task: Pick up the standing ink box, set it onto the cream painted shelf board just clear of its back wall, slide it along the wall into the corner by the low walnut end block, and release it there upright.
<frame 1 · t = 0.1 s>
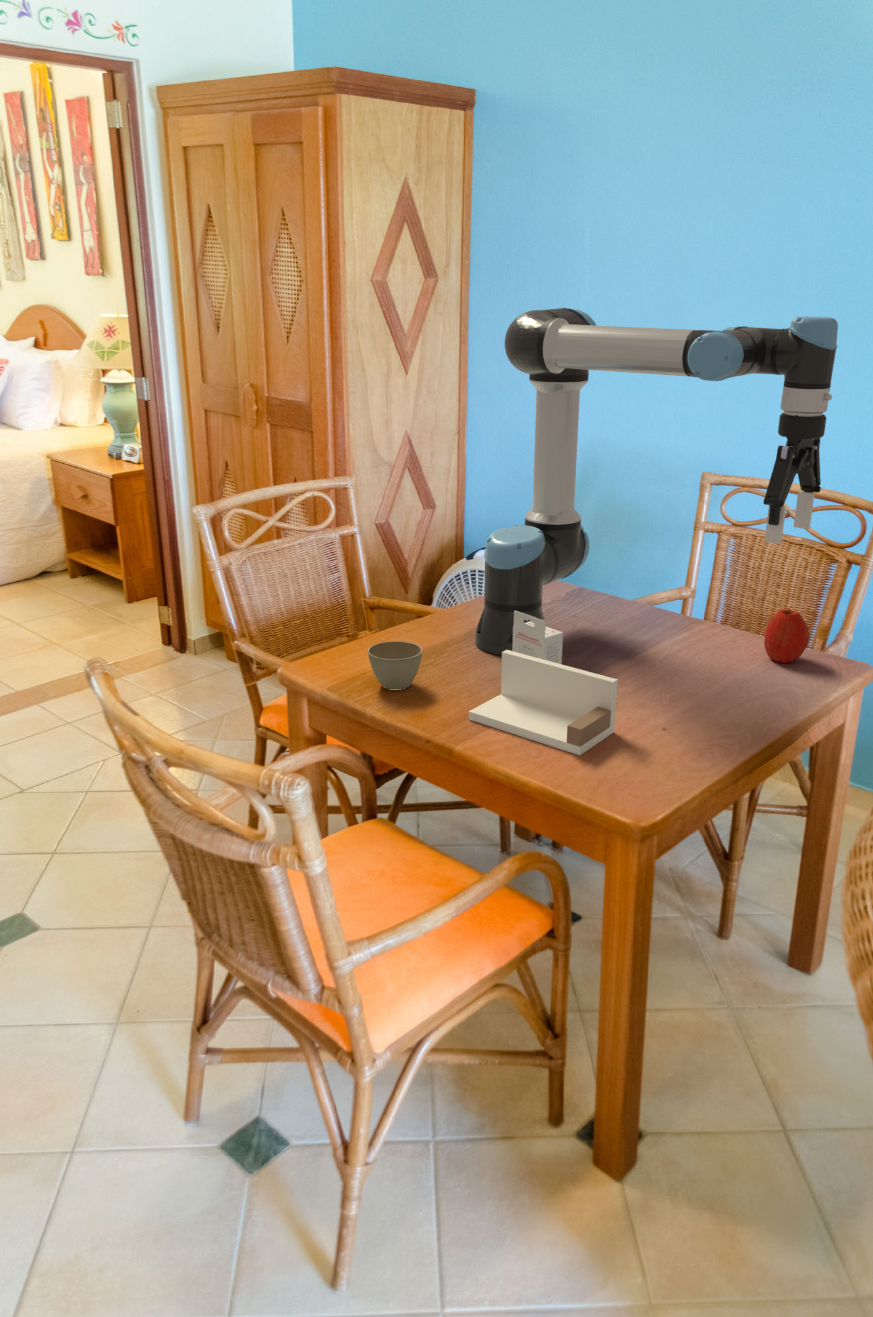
hand: (787, 535, 180), 28 cm above the table, fingers open, 13 cm apart
ink box: (535, 689, 187), on the table
apple: (782, 660, 201), on the table
shelf: (540, 725, 172), on the table
flower pot: (395, 686, 188), on the table
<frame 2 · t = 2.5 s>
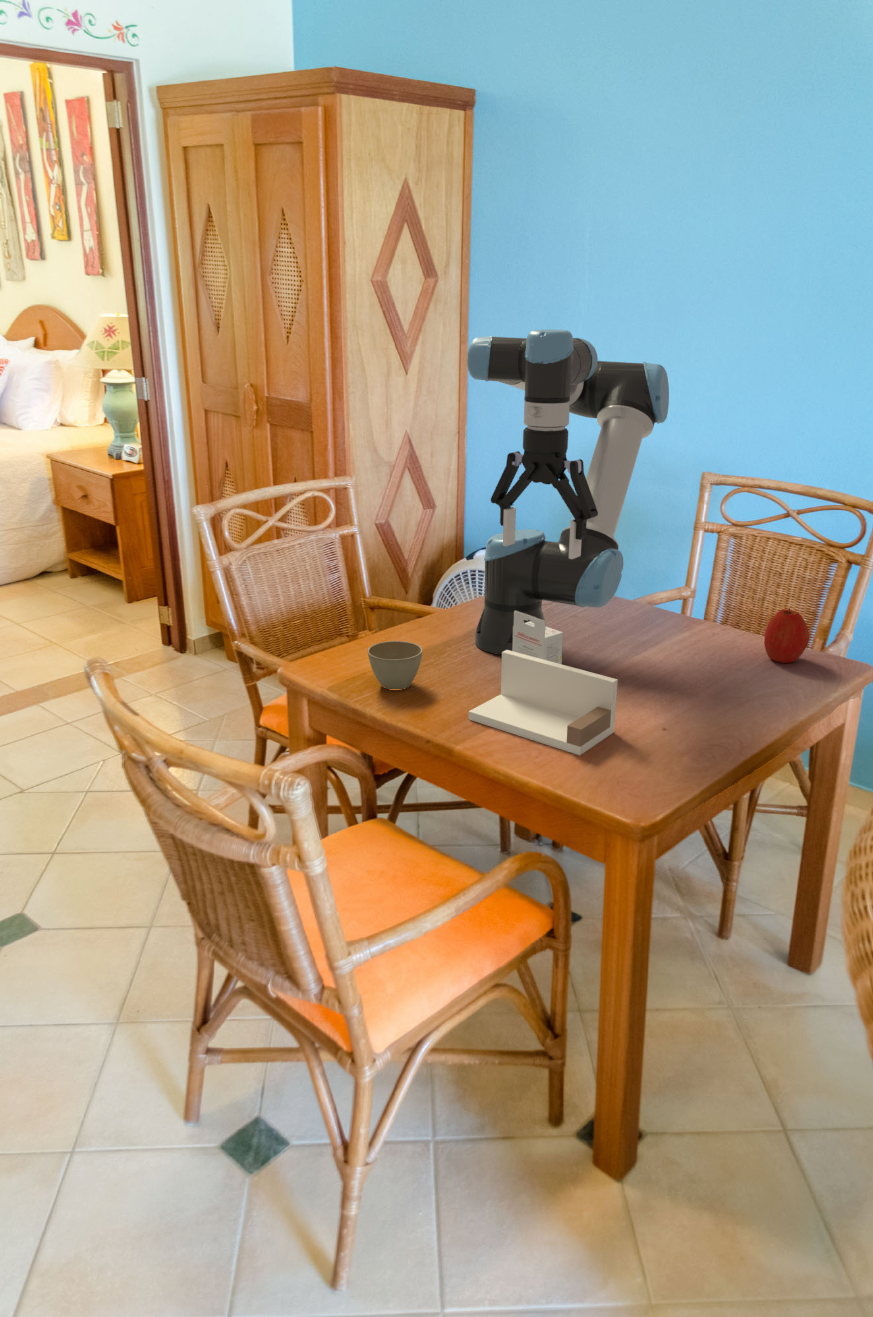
hand: (541, 551, 177), 26 cm above the table, fingers open, 13 cm apart
nothing on the table moved.
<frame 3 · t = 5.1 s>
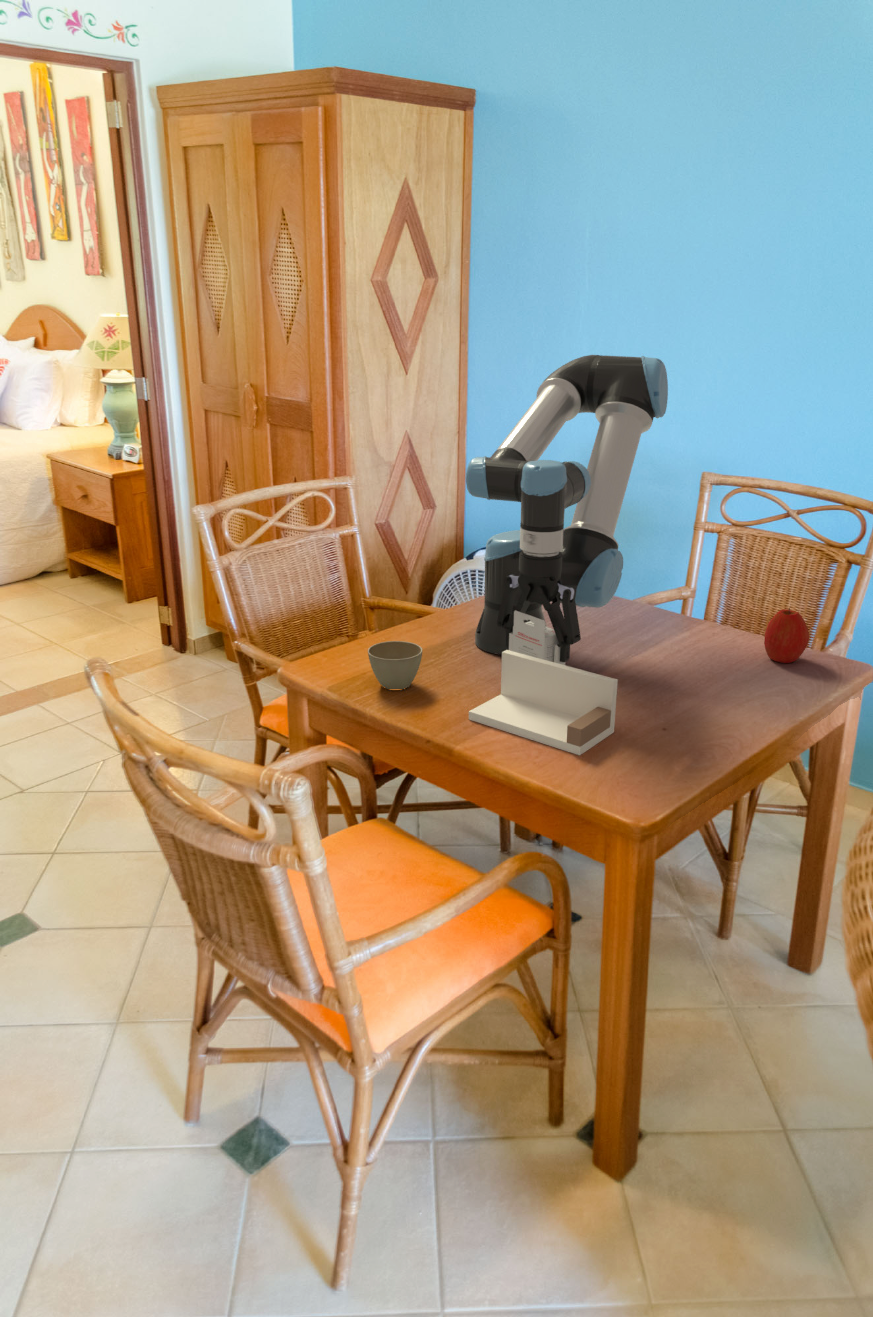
hand: (536, 670, 185), 4 cm above the table, fingers closed on ink box, 9 cm apart
ink box: (535, 689, 187), on the table, touching gripper
everything else where it was.
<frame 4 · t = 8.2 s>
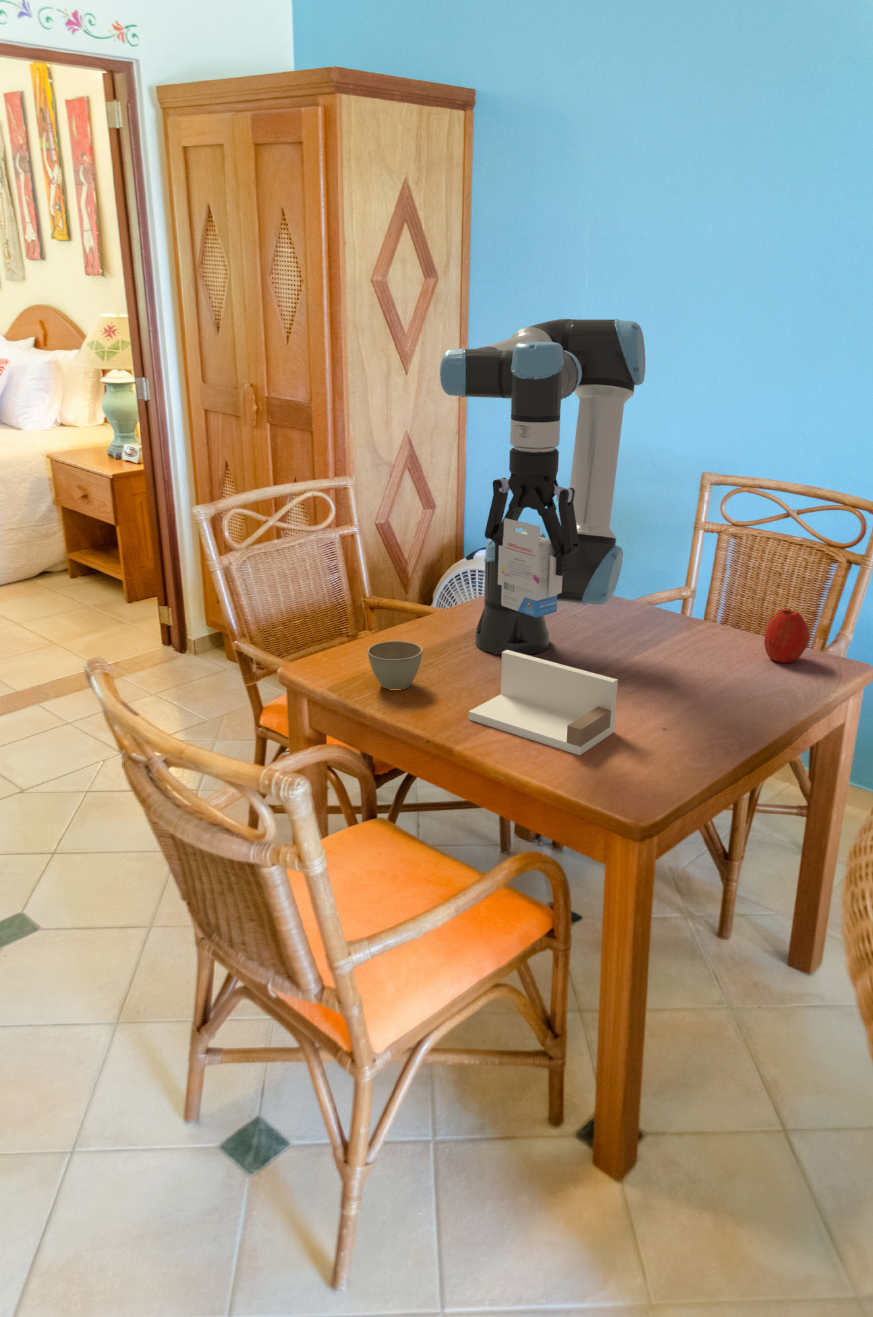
hand: (529, 588, 164), 24 cm above the table, fingers closed on ink box, 9 cm apart
ink box: (528, 610, 165), point 20 cm above the table, touching gripper
everything else where it was.
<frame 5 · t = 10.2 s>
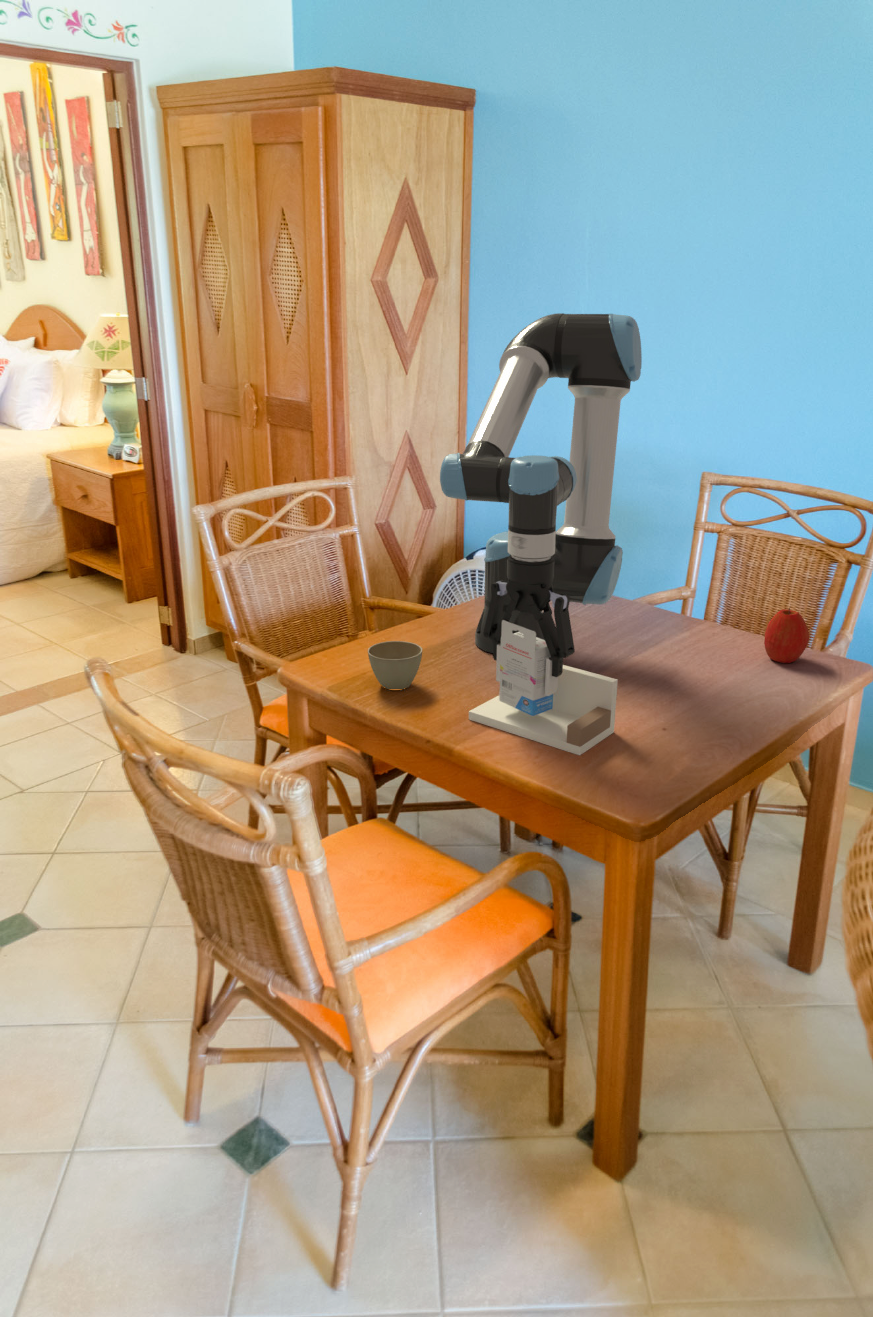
hand: (526, 685, 170), 7 cm above the table, fingers closed on ink box, 9 cm apart
ink box: (525, 706, 171), point 3 cm above the table, touching gripper
everything else where it was.
when the fingers open (7 cm above the table, at t = 11.9 s): ink box drops 2 cm, resting on shelf.
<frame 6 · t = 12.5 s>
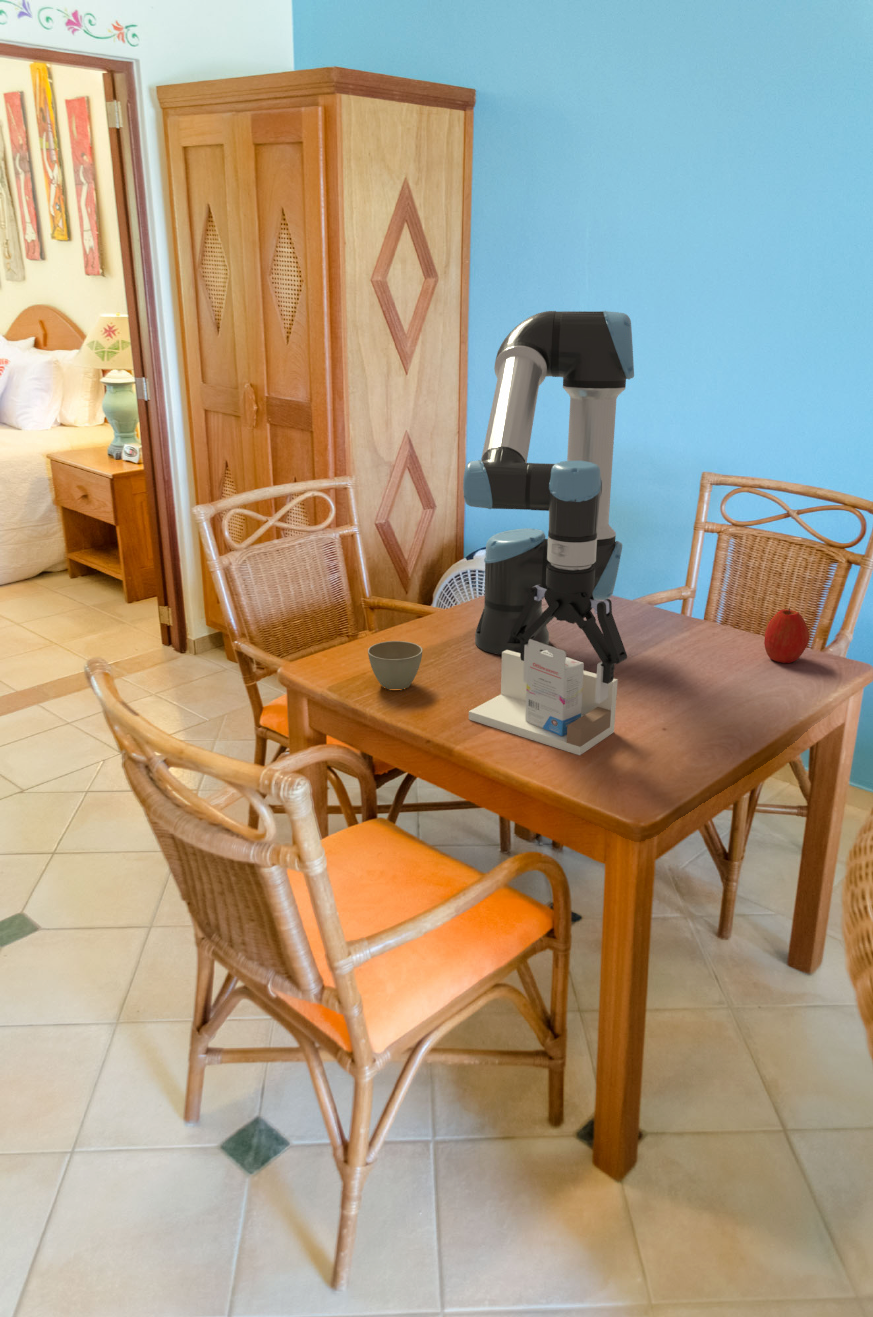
hand: (564, 690, 165), 8 cm above the table, fingers open, 13 cm apart
ink box: (552, 725, 168), point 1 cm above the table, touching shelf
everything else where it was.
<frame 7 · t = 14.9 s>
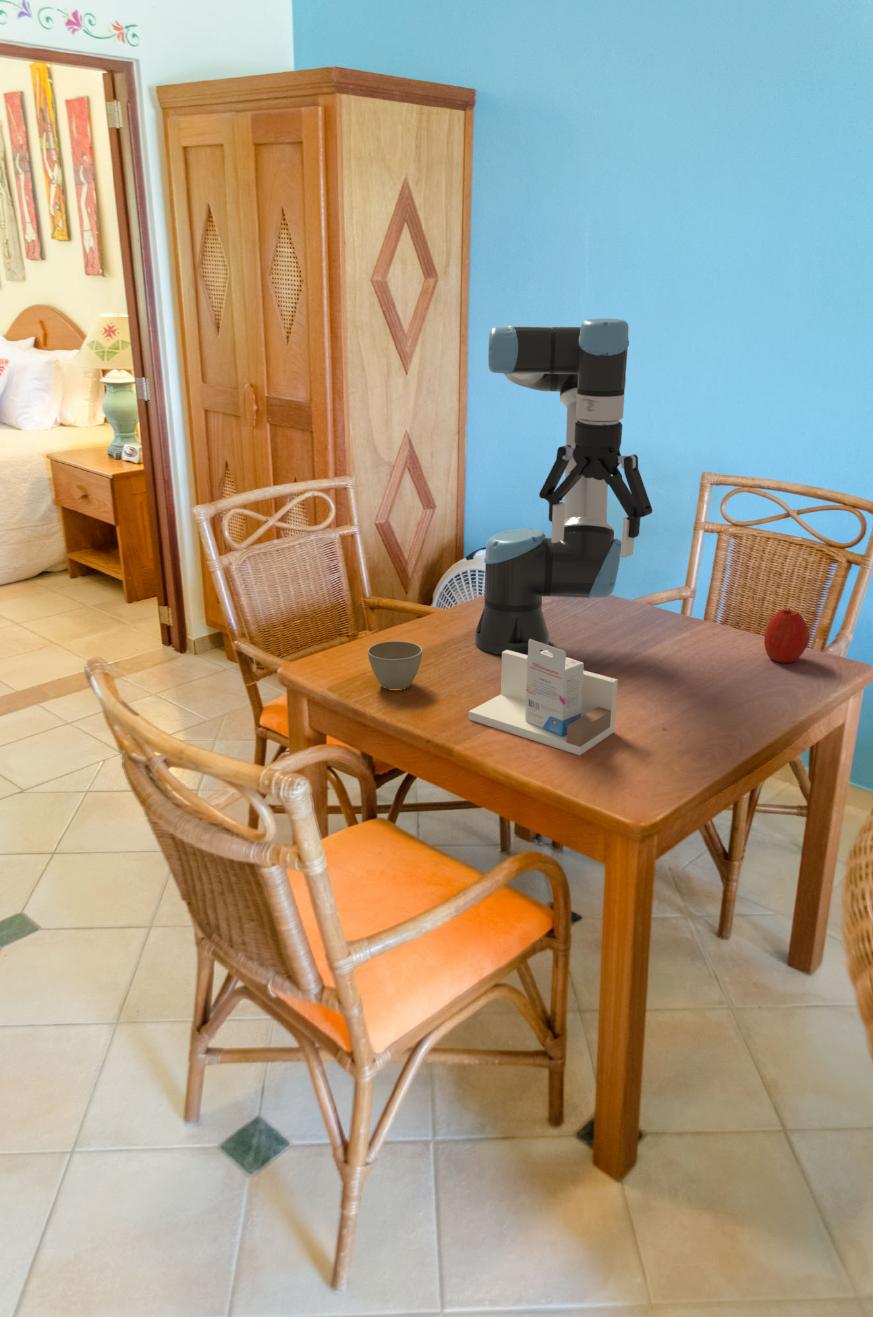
hand: (591, 548, 171), 28 cm above the table, fingers open, 13 cm apart
nothing on the table moved.
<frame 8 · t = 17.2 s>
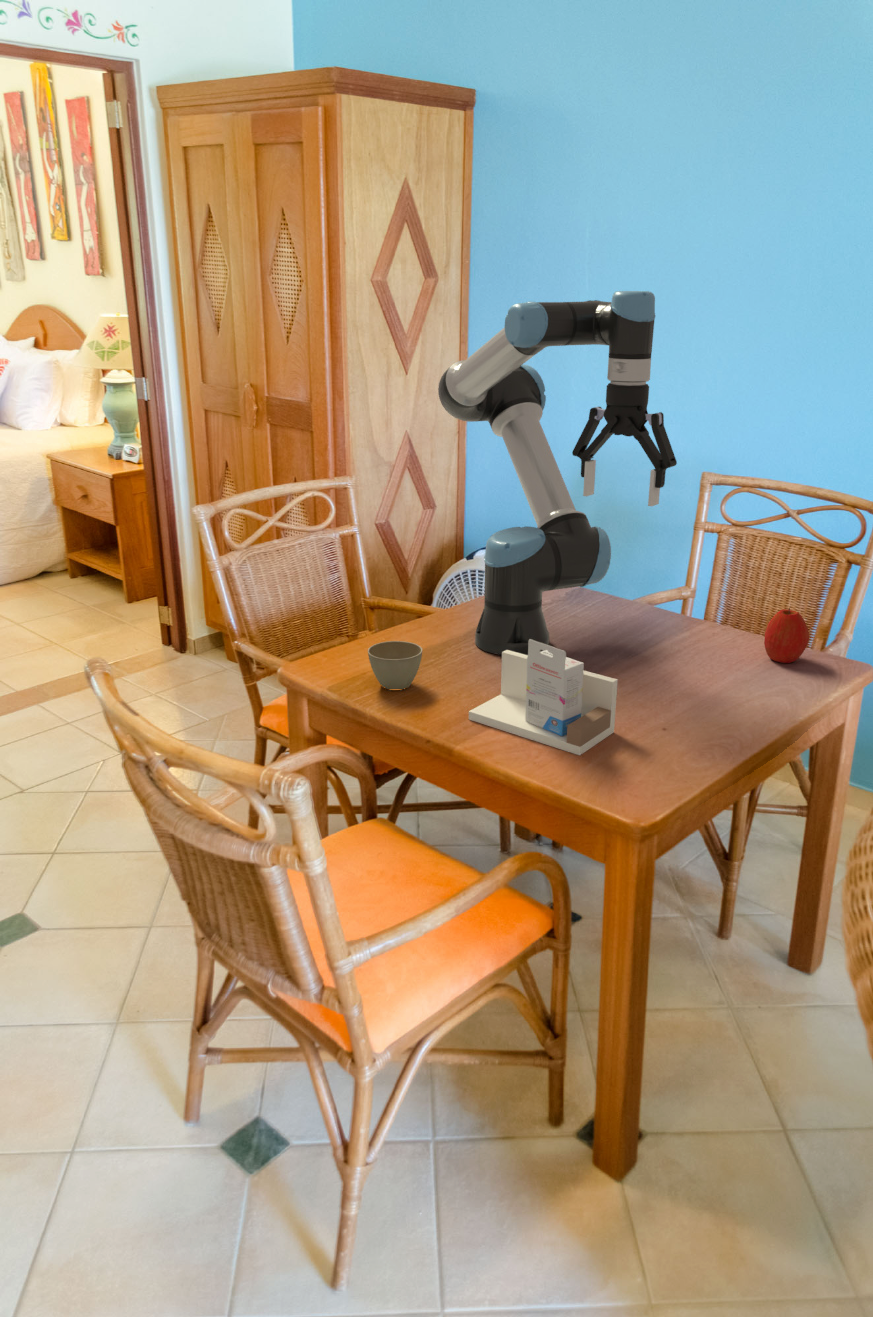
hand: (620, 500, 189), 32 cm above the table, fingers open, 13 cm apart
nothing on the table moved.
at the end: ink box 2.1 cm from the target spot, point 1.3 cm above the table; ink box tilted 0°; the gripper is holding nothing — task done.
